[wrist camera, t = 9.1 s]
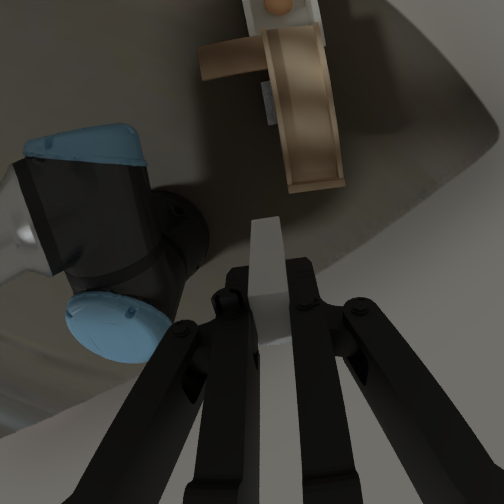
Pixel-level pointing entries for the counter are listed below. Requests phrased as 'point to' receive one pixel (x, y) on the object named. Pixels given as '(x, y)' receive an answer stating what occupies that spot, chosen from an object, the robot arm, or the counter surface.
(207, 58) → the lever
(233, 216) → the counter surface
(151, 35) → the counter surface
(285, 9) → the ball
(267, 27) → the grey open bin
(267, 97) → the fulcrum
